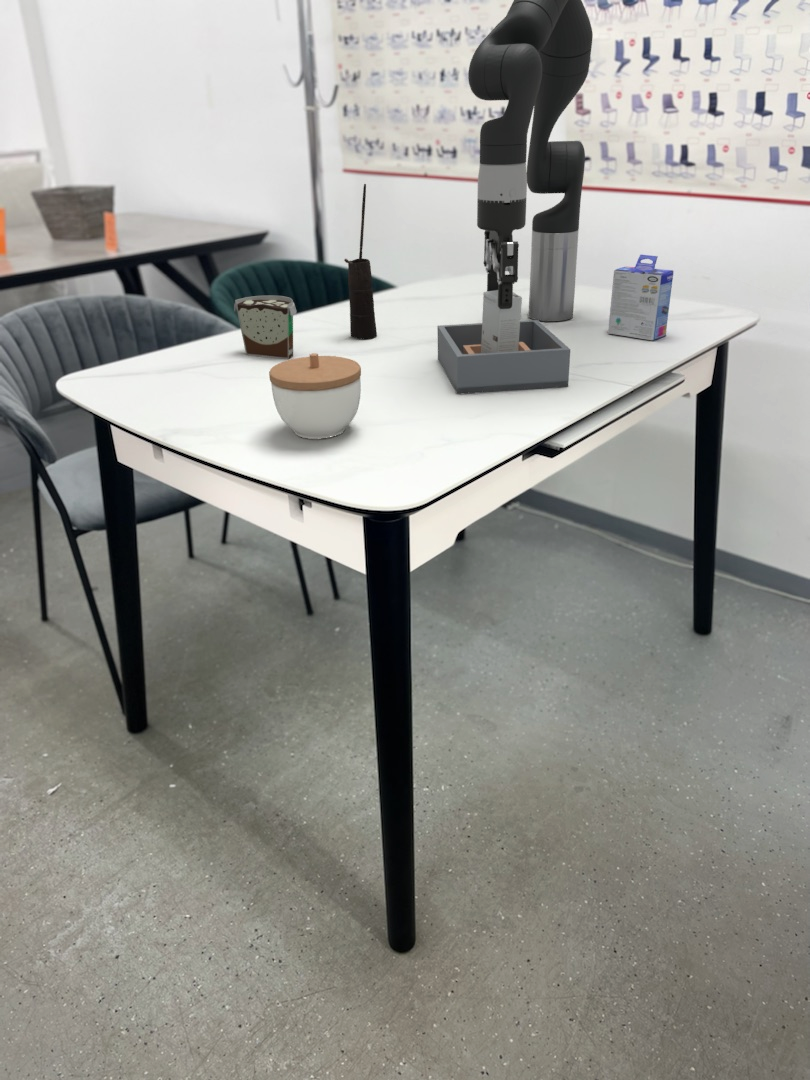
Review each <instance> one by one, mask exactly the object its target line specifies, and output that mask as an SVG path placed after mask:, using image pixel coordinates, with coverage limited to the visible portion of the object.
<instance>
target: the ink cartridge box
mask: <svg viewBox="0 0 810 1080" xmlns="http://www.w3.org/2000/svg"><path fill="white" fill-rule="evenodd" d="M658 257H659V256H658V255H648V254H639V257H638V258H637V261H636V264H635V266H623V267H619V268H616V269H615V270H613V278H612V290H611V299H610V300H611V301H610V308H609V309H610V310H609V316H608V317H609V320H608V328H607V329H608V330H607V334H610V335H616V336H622V337H628V338H635V339H640V340H648V341H655V340H658V339H662V338H664V337H666V336H667V328H668V320H669V313H670V312H669V311H670V302H671V296H672V295H671V294H672V288H673V279H674V270H672V269H664V268H663V269H661V268H656V264H657V260H658ZM643 260H650V261H652V262H651V263H646V262H642V261H643Z"/></svg>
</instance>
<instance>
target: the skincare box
mask: <svg viewBox="0 0 810 1080" xmlns="http://www.w3.org/2000/svg"><path fill="white" fill-rule="evenodd" d="M482 295H483V302H482V320H481V321H482V322H481V323H482V341H481V353H494V352H510V351H518V347H519V332H520V321H521V318H522V317H521V316H522V301H523V297H522V296H521V295H519V294H516V292H513V297H512V307H511V308H510V309H500V308H499V307H498V290H494V291H487V290H486V291H484V292H483V294H482Z"/></svg>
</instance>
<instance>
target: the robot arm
mask: <svg viewBox="0 0 810 1080" xmlns="http://www.w3.org/2000/svg"><path fill="white" fill-rule="evenodd" d="M592 46H593V28H592V24H591V21H590V17H589V16H588V13H587V10H586V7H585V5H584V3H583V0H513V1H512V3H511V6H510V8H509V9H508V11H507V13H506V16H504V18H503V19H502V20H500V21H499V22H498V23H497V24H496V25H495V27H494V28H493V29H492V30H491V31H490V32H489V33H487V35H486V36H485V38H484V39H483V40H482V41H481V42H480V43H479V45H478V46H477V47H476V50H475V51H474V52H473V55H472V57H471V59H470V63H469V67H468V74H467V75H468V76H467V77H468V84H469V88H470V91H471V92H472V93H473V95H474V96H475V97H476V98H478V99H480V100H483V101H489V102H490V101H507V105H506V108H505V110H504V113H503V114H502V116H500V117H496V118H492V119H489V120H487V121H485V122H483V124H482V125H481V127H480V131H479V168H478V175H477V203H476V204H477V205H476V206H477V208H476V209H477V210H476V212H477V213H476V214H477V219H476V226H477V227H478V228H479V229H480V230H482V231H484V244H483V245H484V247H483V248H484V251H483V253H484V255H483V257H484V258H483V266H484V267H485V271H486V273H487V275H486V276H487V277H486V279H487V281H486V284H487V285H486V292H487V291H494V290H498V307H499V308H500V309H510V308H511V307H512V297H513V293H514V292H513V291H514V287H513V286H514V285H515V283H518V279H519V274H518V273H519V271H518V270H519V268H518V267H519V247H520V244H519V241H514V240H513V237H514V236H513V232H514V231H515V230H516V231H517V230H522V229H523V228H525V226H526V222H527V221H526V220H527V218H526V216H527V192H528V189H529V191H530V192H531V193H533V194H539V195H540V194H541V195H543V194H544V195H545V194H548V195H549V194H564V196H563V198H562V199H561V200H560V202H558V203H557V204H555V205H554V206H552V207H550V208H548V209H546V210H543V211H541V212H538V213H536V214H534V215H533V218H532V222H531V226H532V227H531V250H530V252H531V253H530V274H529V276H530V277H529V295H528V296H529V298H528V317H529V319H531V320H538V321H539V322H540V321H542V322H562V321H567V320H570V319H571V320H572V318H573V317H574V304H575V294H576V293H575V292H576V277H577V275H576V274H577V262H578V261H577V258H578V243H579V242H578V241H579V230H580V215H581V214H580V213H581V199H582V190H583V182H584V174H585V167H586V166H585V164H586V153H585V152H586V151H585V147H584V145H583V143H582V142H580V140H579V141H578V140H562V141H560V140H559V141H555V140H554V141H549V139H550V137H551V134H552V132H553V128H554V127H555V125H556V124H557V121H558V120H559V118H560V116H562V114H563V112H564V111H565V110H566V108H568V106H569V104H570V103H572V101H573V99H574V98H575V97H576V96H577V94H578V93H579V91H580V90H581V88H582V87H583V85H584V83H585V82H586V79H587V77H588V75H589V70H590V63H591V55H592ZM532 115H533V116H532ZM531 120H532V124H531ZM530 124H531V133H530V139H529V140H530V141H529V146H528V147H527V145H528V144H527V143H528V133H529V128H530ZM527 149H528V151H527ZM527 152H528V154H527ZM506 272H508V273H509V274H506Z"/></svg>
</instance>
